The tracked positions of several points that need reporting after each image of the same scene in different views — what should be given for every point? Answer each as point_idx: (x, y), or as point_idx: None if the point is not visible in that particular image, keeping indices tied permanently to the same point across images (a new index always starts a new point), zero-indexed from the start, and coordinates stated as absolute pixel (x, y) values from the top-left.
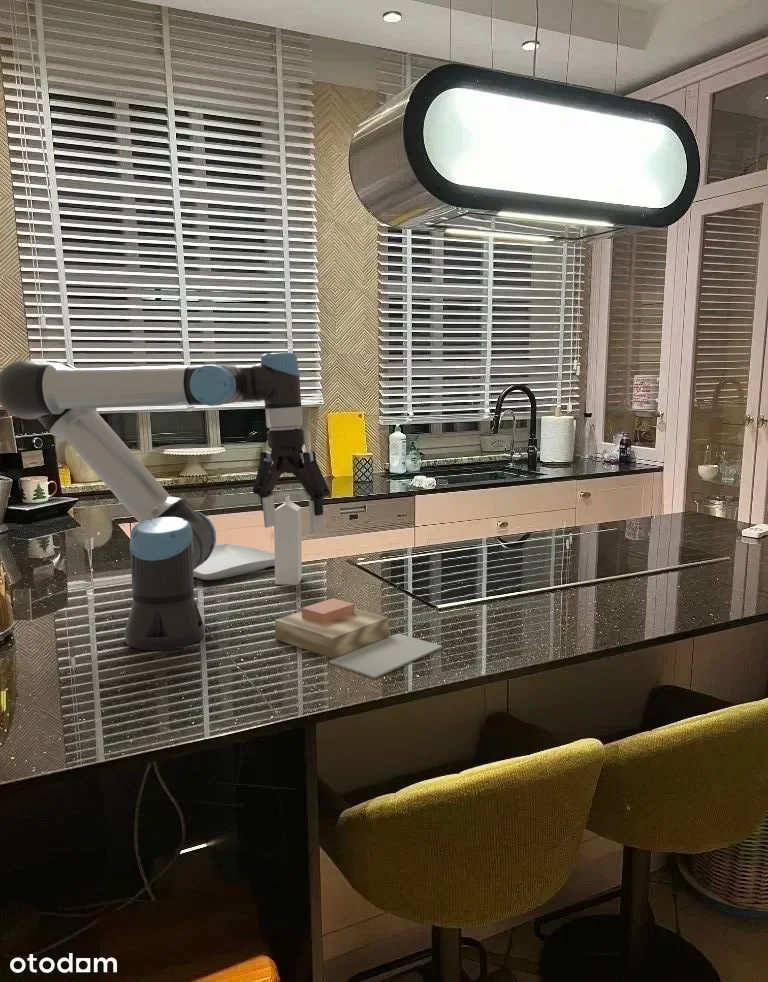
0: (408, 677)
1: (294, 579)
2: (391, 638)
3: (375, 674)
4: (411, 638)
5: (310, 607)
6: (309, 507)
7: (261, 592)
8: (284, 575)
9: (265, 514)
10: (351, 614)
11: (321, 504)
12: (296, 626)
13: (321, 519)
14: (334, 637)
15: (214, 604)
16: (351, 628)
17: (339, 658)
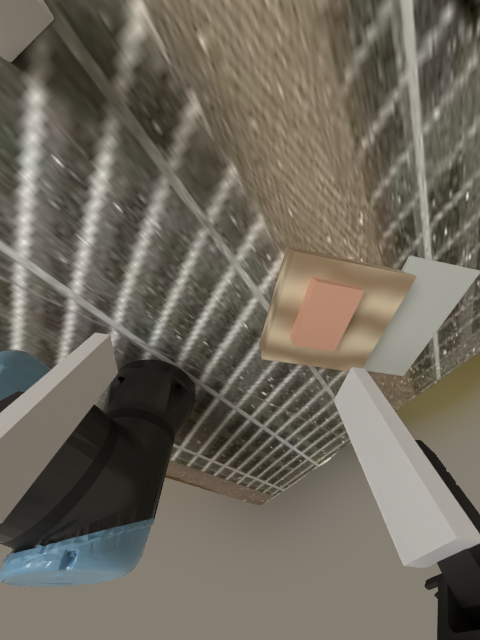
0: (435, 359)
1: (34, 14)
2: None
3: (403, 372)
4: (434, 266)
5: (304, 338)
6: (381, 510)
7: (59, 160)
8: (3, 26)
9: (80, 417)
10: None
11: (466, 513)
12: (300, 364)
13: (387, 404)
14: None
15: (75, 277)
16: (371, 339)
17: None
